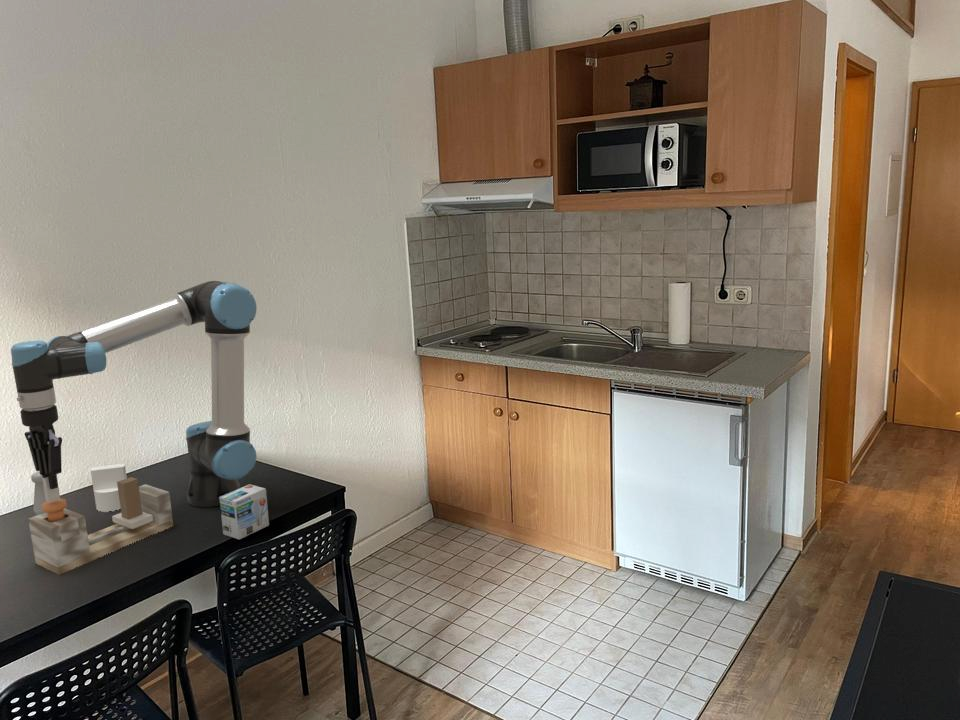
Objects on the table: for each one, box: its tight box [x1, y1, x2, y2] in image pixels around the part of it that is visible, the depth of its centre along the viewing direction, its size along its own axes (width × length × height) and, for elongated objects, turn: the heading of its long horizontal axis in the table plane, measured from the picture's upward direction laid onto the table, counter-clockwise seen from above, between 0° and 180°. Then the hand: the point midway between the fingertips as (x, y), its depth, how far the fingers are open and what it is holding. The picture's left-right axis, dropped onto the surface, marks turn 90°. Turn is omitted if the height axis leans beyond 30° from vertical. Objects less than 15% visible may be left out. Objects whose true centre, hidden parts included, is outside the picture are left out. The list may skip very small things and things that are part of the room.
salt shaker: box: [30, 471, 46, 516], centre depth 214 cm, size 6×6×13 cm
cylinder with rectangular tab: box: [90, 462, 128, 513], centre depth 220 cm, size 9×9×12 cm
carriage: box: [111, 476, 153, 529], centre depth 200 cm, size 6×9×12 cm, turn 56°
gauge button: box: [42, 498, 68, 522], centre depth 184 cm, size 5×5×5 cm
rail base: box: [27, 483, 174, 576], centre depth 195 cm, size 31×11×12 cm, turn 146°
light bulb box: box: [219, 483, 270, 540], centre depth 201 cm, size 11×7×11 cm, turn 148°
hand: (53, 500), depth 183 cm, fingers closed
